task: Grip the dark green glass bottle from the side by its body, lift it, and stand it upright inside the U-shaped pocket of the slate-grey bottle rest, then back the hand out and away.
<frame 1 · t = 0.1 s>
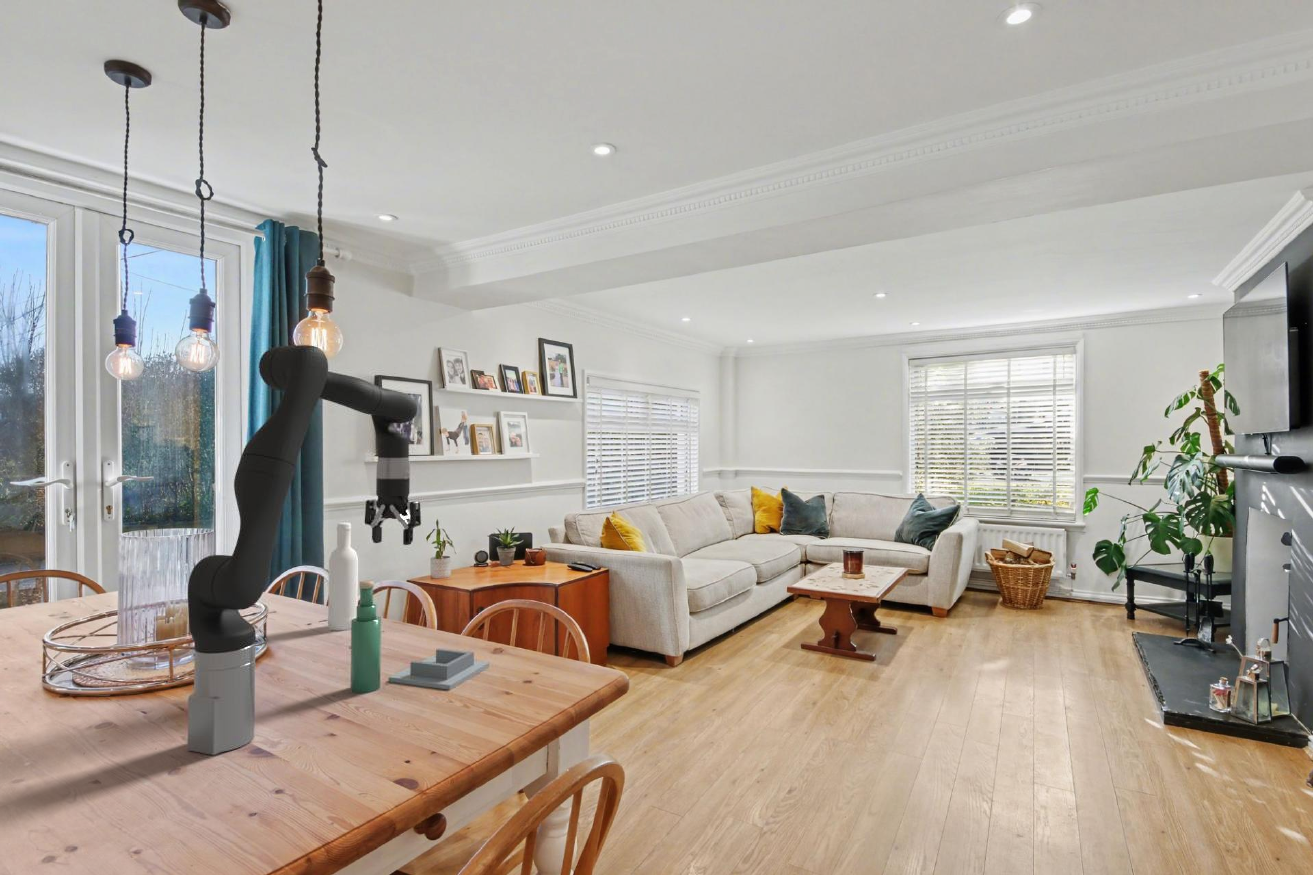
hand: (392, 543, 165), 29 cm above the table, tool pointing down, fingers open, 8 cm apart
bottle rest: (440, 674, 159), on the table
bottle 2: (342, 627, 197), on the table
bottle: (365, 688, 149), on the table
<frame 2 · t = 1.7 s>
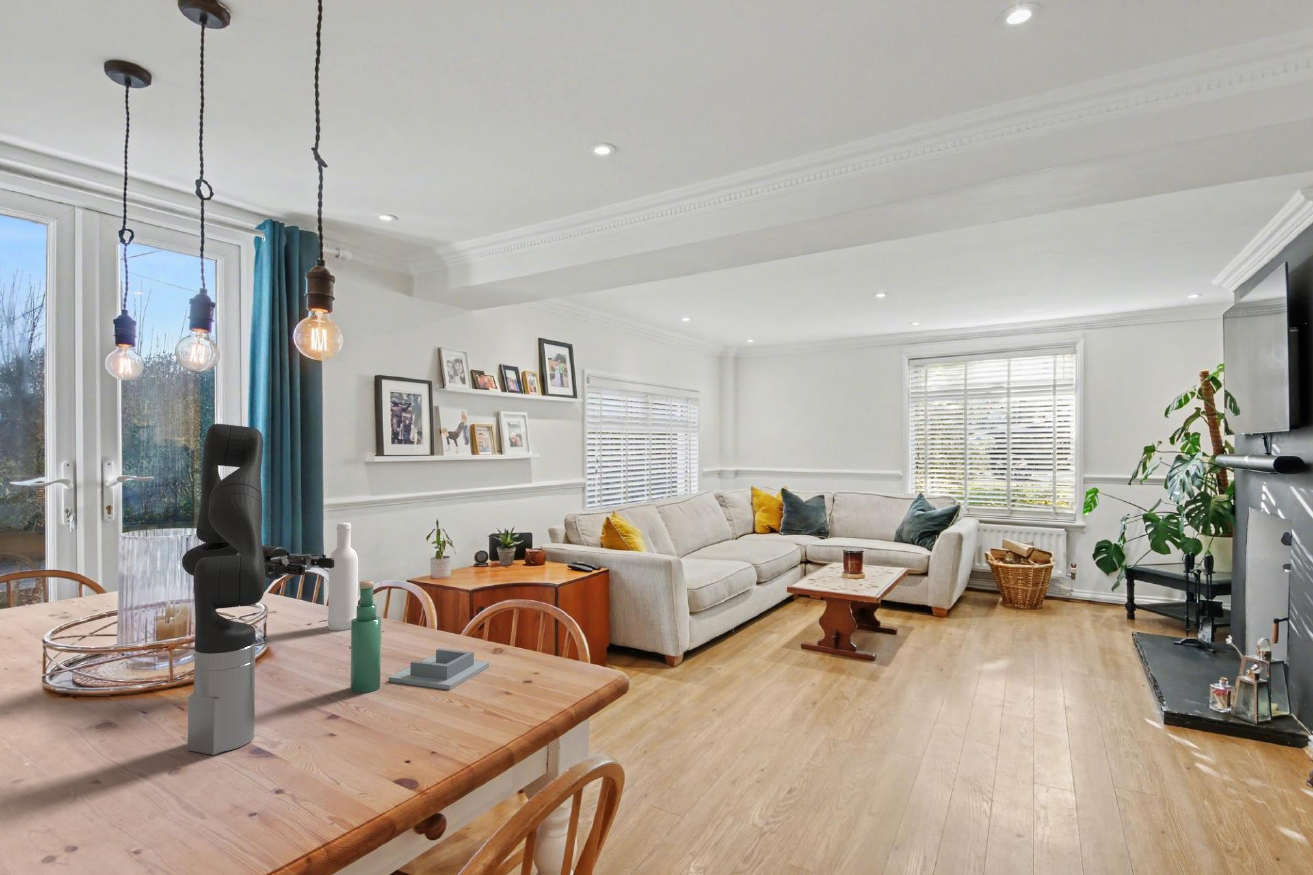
hand: (319, 566, 153), 26 cm above the table, tool horizontal, fingers open, 8 cm apart
nothing on the table moved.
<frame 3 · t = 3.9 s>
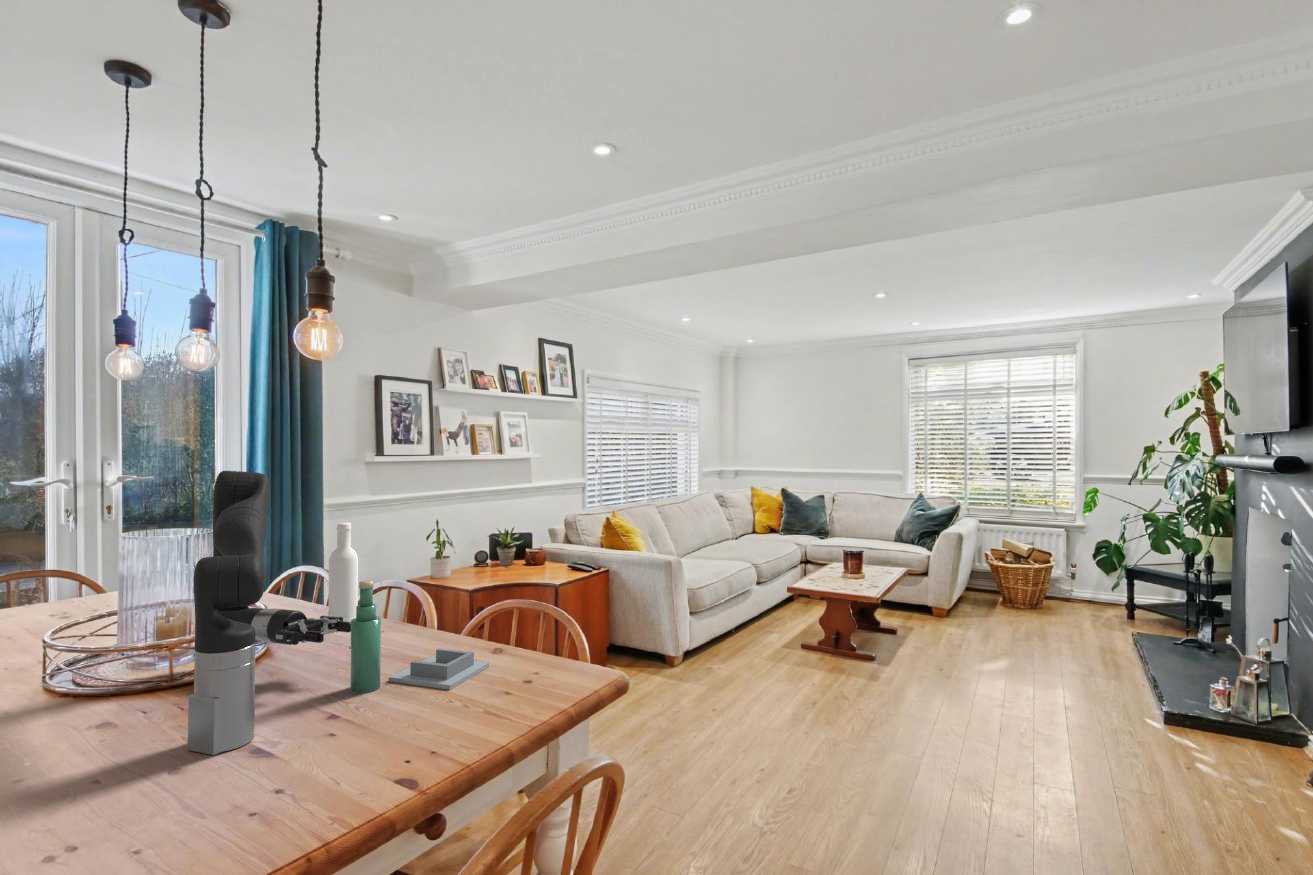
hand: (337, 632, 151), 11 cm above the table, tool horizontal, fingers open, 8 cm apart
nothing on the table moved.
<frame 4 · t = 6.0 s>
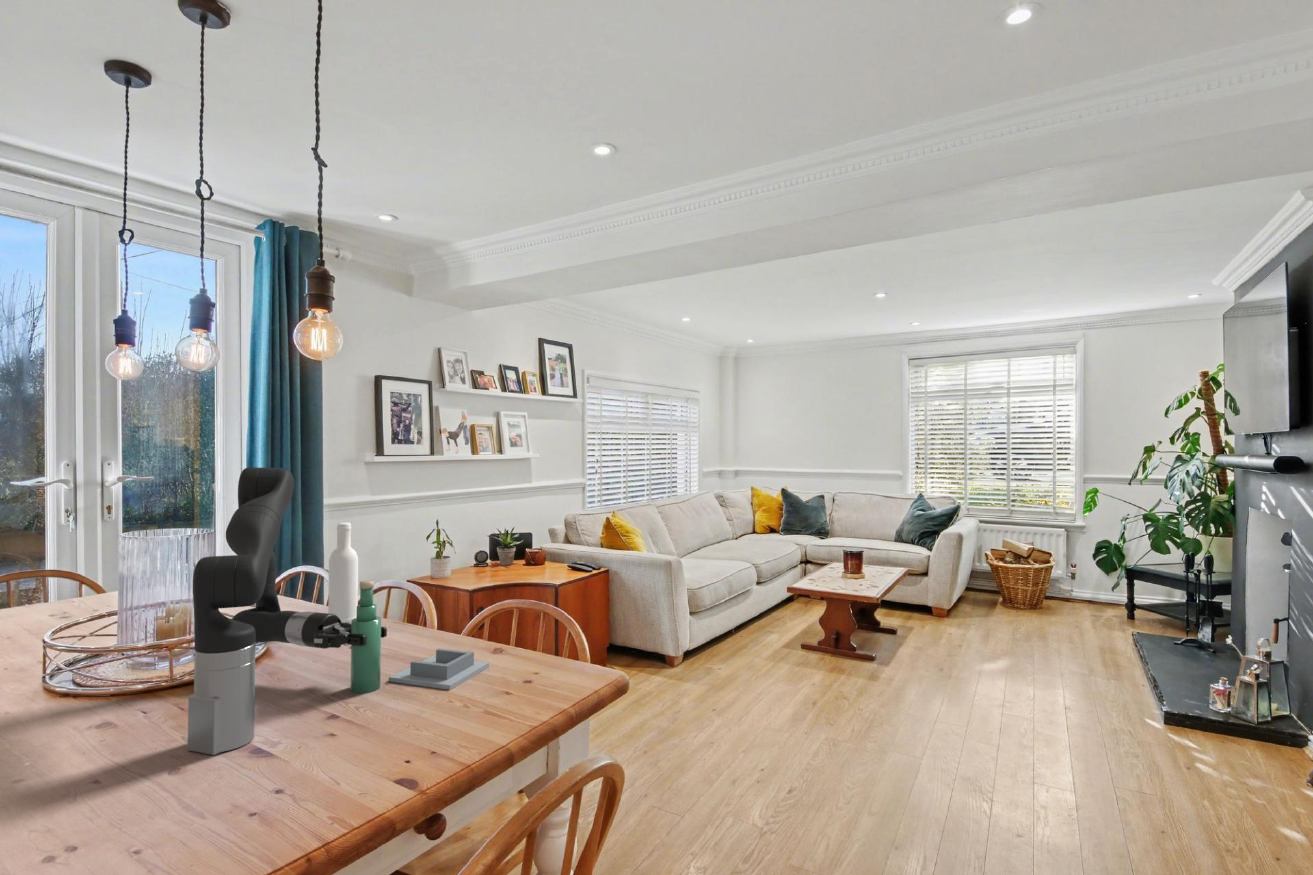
hand: (375, 636, 149), 12 cm above the table, tool horizontal, fingers closed on bottle, 6 cm apart
bottle: (365, 688, 149), on the table, touching gripper
everything else where it was.
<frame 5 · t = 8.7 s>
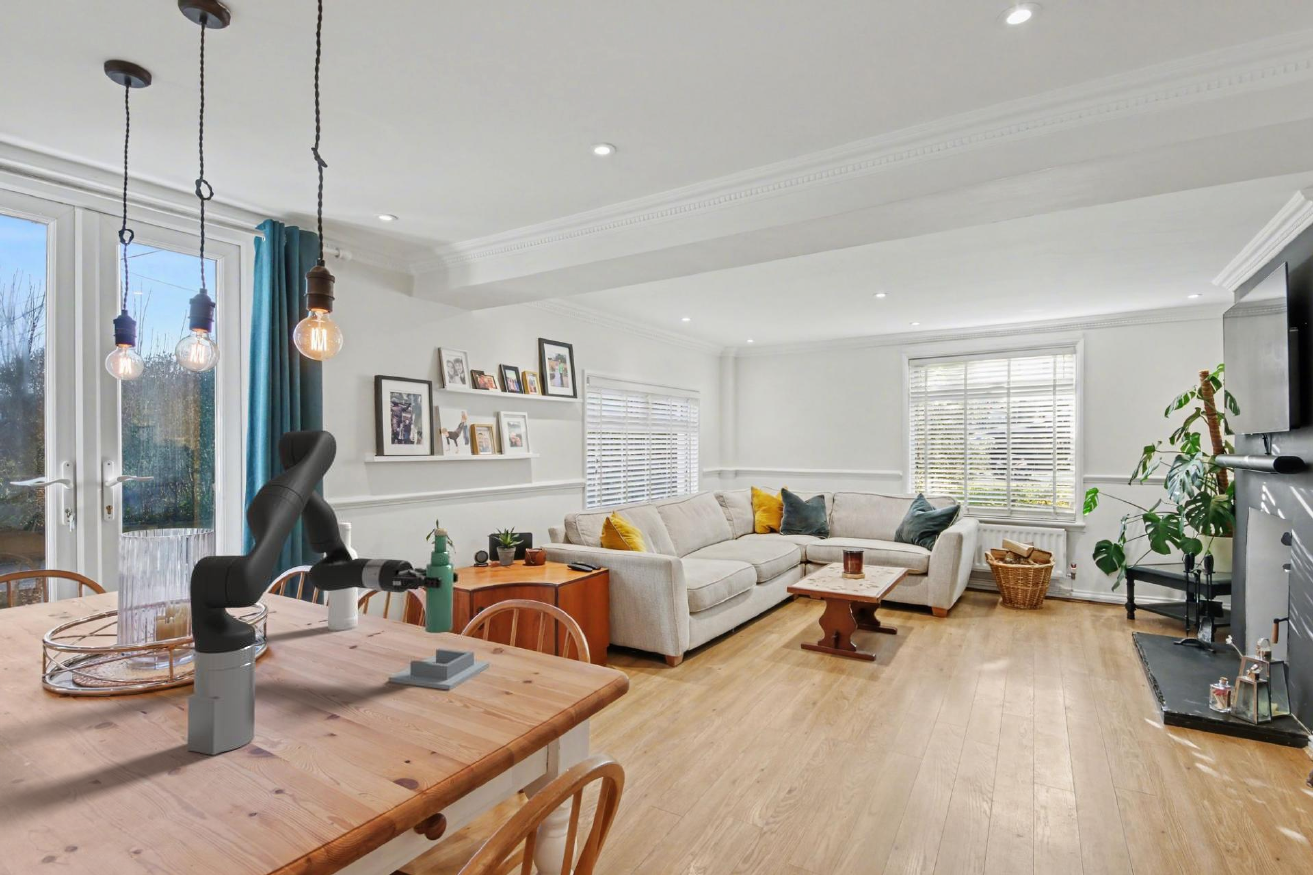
hand: (448, 580, 158), 22 cm above the table, tool horizontal, fingers closed on bottle, 6 cm apart
bottle: (438, 629, 159), point 10 cm above the table, touching gripper
everything else where it was.
when the fingers open (14 cm above the table, at t = 11.2 s): bottle drops 1 cm, resting on bottle rest.
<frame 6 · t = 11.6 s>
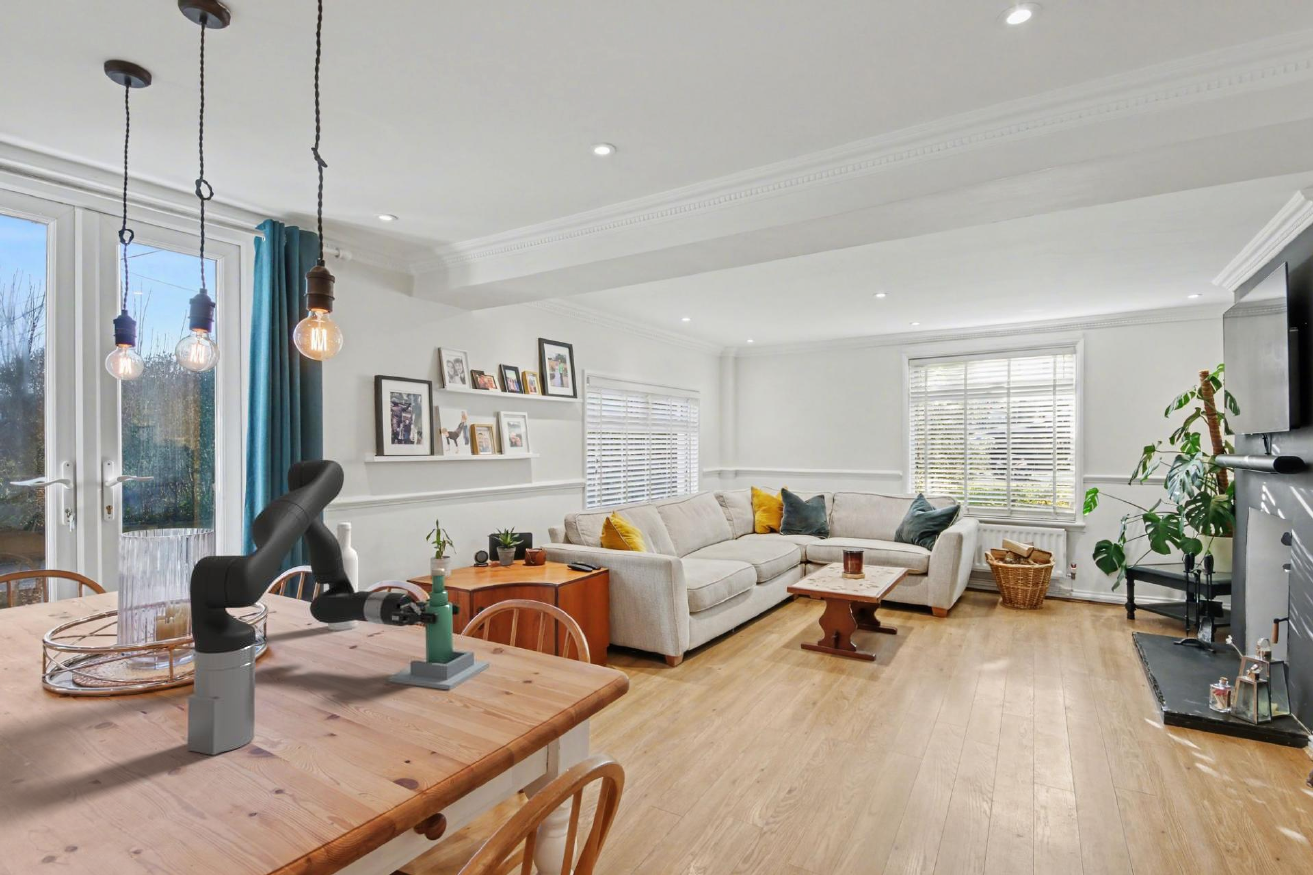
hand: (448, 614, 158), 14 cm above the table, tool horizontal, fingers open, 8 cm apart
bottle: (439, 669, 159), point 1 cm above the table, touching bottle rest
everything else where it was.
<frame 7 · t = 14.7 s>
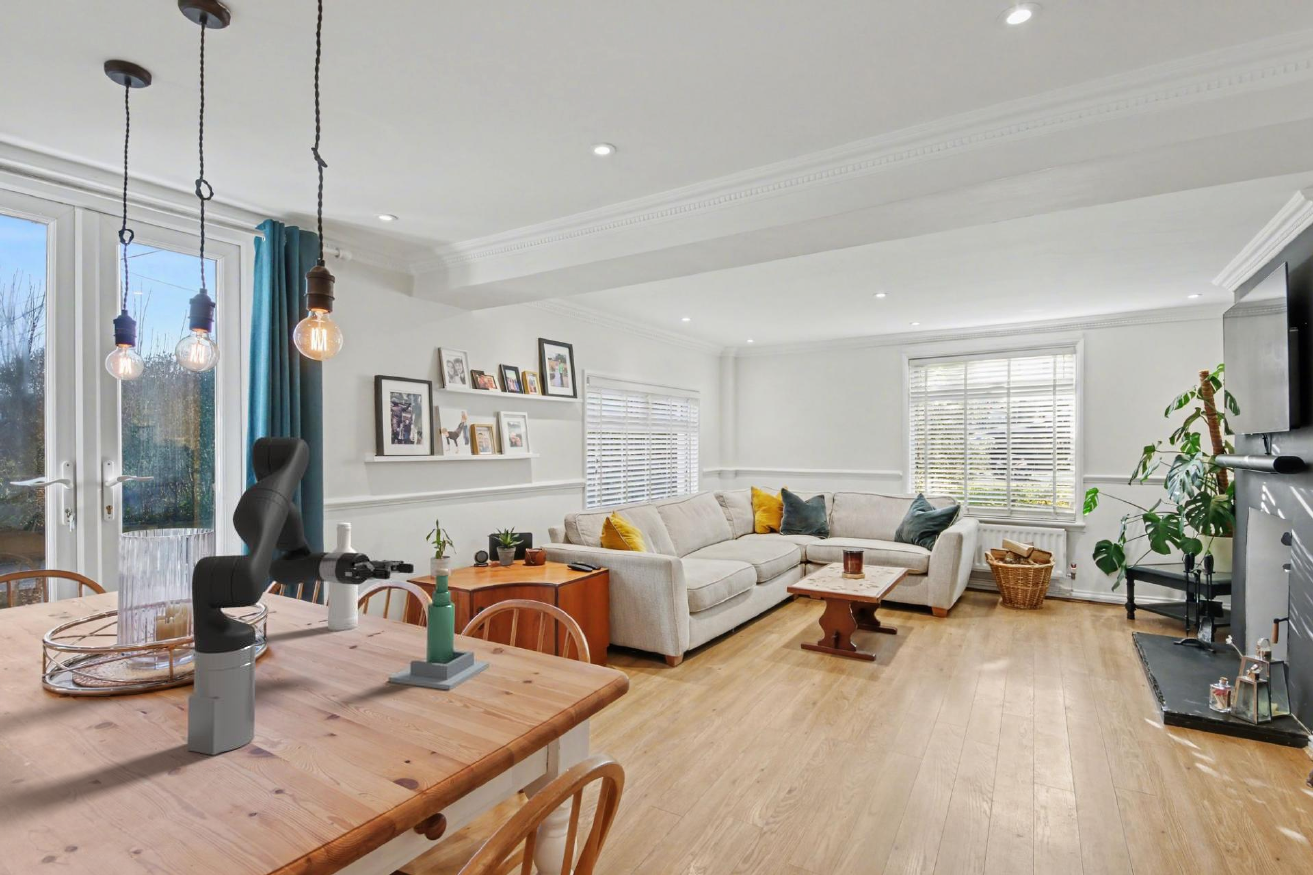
hand: (401, 571, 162), 23 cm above the table, tool horizontal, fingers open, 8 cm apart
nothing on the table moved.
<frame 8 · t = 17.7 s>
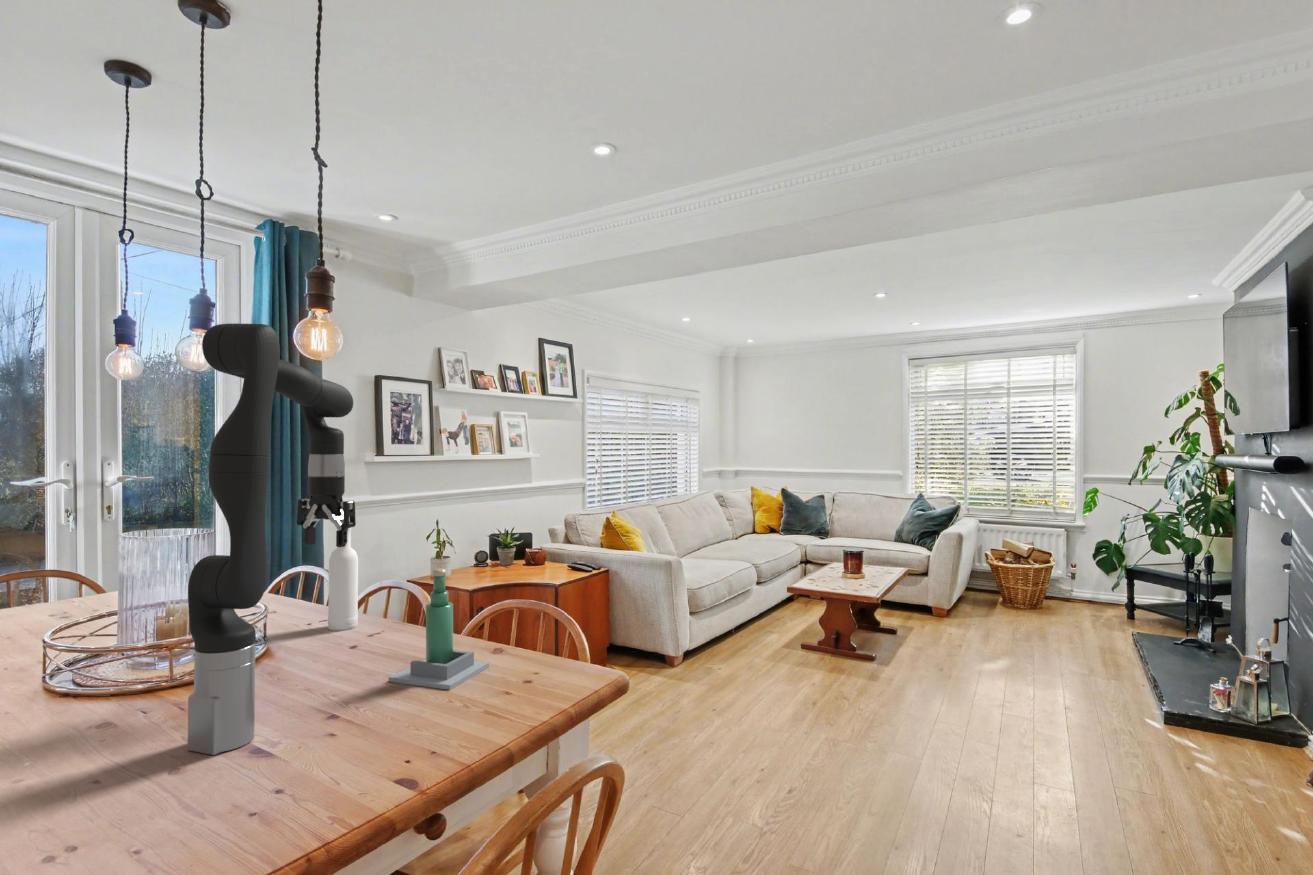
hand: (325, 545, 155), 30 cm above the table, tool pointing down, fingers open, 8 cm apart
nothing on the table moved.
at the end: bottle 0.3 cm off-centre on the bottle rest, point 1.1 cm above the bottle rest's base; bottle tilted 2°; the gripper is holding nothing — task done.
